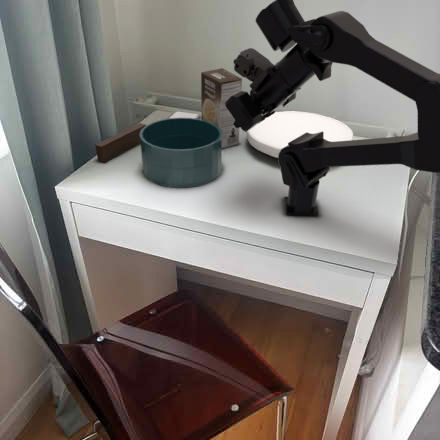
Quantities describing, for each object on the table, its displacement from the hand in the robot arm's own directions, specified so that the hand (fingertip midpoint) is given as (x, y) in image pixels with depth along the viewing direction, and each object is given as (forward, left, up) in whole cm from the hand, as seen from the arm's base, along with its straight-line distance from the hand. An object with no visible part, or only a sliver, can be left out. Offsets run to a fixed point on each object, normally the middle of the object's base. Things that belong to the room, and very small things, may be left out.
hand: (235, 125), depth 91 cm
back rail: (+16, +28, -13) cm, 34 cm away
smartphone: (+33, +16, -13) cm, 39 cm away
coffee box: (+23, +4, -13) cm, 27 cm away
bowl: (+7, +12, -13) cm, 19 cm away
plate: (+21, -16, -13) cm, 30 cm away
